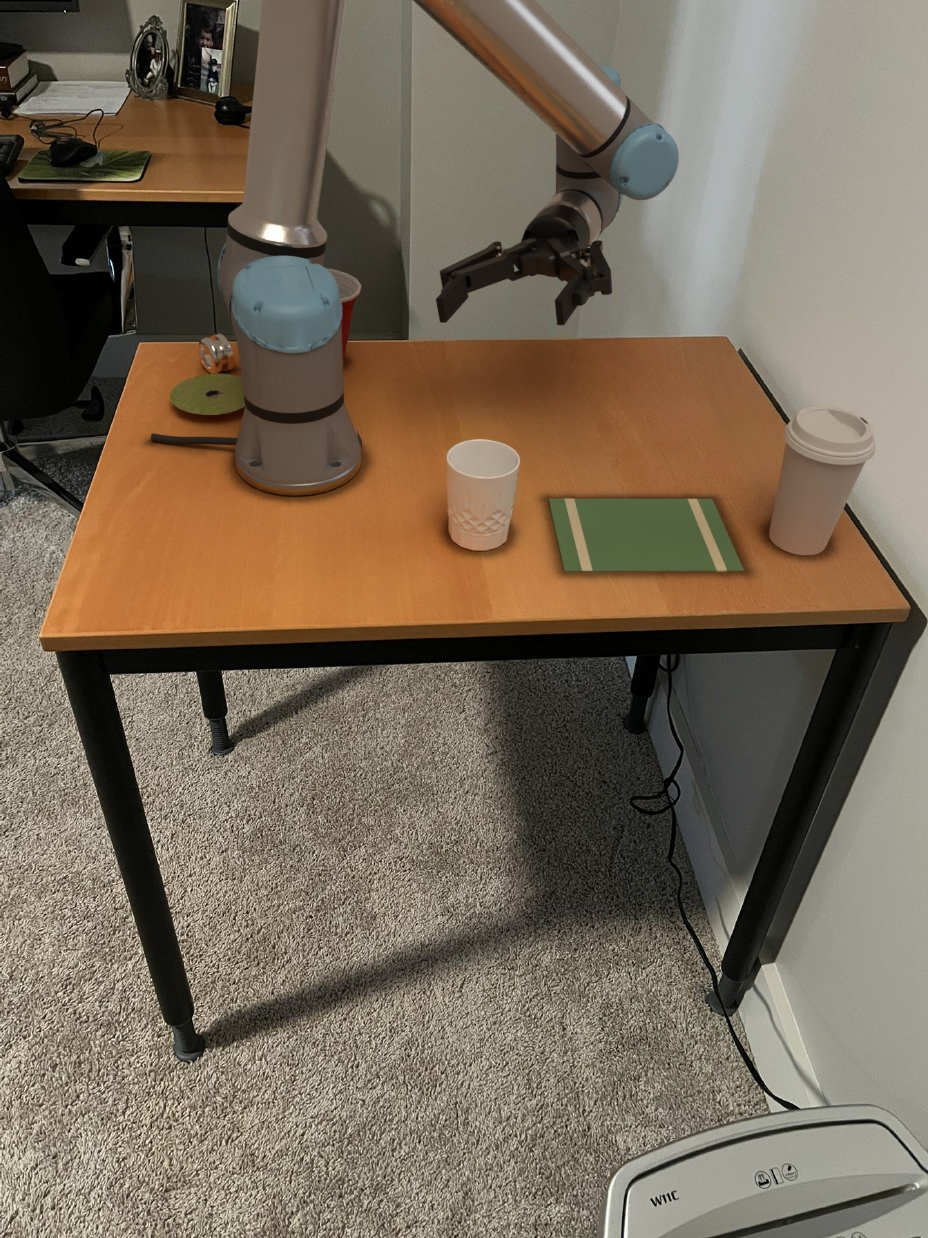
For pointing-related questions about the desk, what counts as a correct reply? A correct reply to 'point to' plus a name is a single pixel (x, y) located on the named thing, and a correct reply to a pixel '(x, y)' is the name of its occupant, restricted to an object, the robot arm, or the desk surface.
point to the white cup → (481, 492)
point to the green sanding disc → (209, 394)
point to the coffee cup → (818, 476)
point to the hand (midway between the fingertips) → (498, 311)
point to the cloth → (642, 536)
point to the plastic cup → (346, 301)
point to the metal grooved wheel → (216, 353)
